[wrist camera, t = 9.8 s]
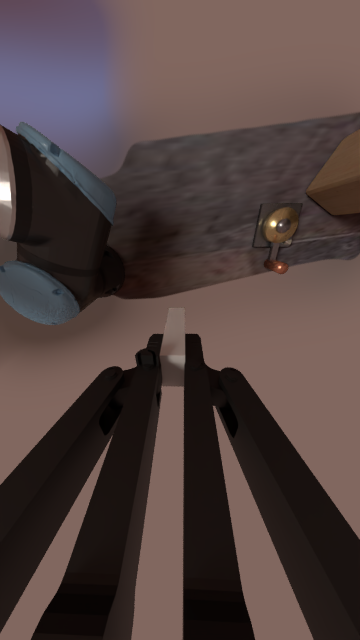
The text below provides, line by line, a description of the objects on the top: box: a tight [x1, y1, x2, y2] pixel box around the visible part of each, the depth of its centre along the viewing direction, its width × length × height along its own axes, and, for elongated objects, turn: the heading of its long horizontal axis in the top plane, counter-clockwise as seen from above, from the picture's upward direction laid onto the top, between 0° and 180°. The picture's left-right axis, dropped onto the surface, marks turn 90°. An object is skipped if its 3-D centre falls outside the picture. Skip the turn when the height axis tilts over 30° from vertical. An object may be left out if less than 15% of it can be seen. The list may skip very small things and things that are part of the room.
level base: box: [252, 203, 302, 247], centre depth 38 cm, size 9×9×2 cm
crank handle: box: [262, 207, 298, 274], centre depth 36 cm, size 13×7×7 cm, turn 2°
